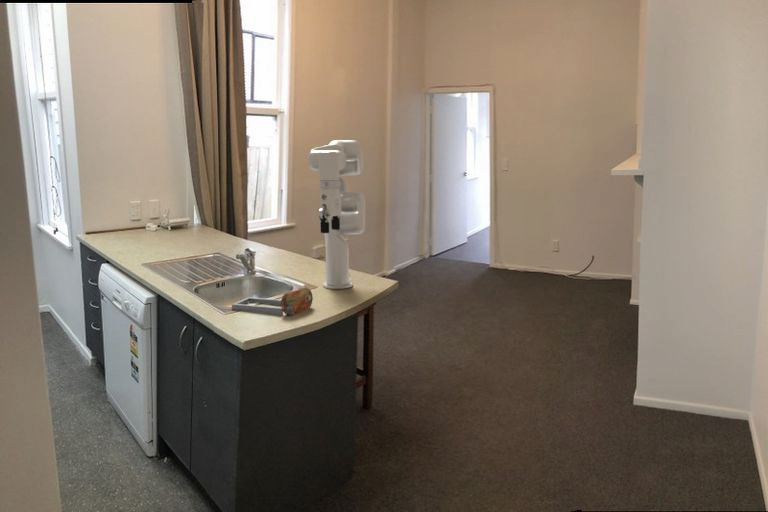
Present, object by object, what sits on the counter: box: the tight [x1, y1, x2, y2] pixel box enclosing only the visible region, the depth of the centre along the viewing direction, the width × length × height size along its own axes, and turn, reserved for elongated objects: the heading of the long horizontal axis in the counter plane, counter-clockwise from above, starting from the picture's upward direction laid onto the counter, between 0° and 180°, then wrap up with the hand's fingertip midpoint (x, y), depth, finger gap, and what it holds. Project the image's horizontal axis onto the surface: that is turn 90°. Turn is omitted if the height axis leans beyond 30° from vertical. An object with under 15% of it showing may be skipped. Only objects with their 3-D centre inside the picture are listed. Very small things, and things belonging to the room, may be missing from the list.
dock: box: [231, 296, 284, 316], centre depth 216 cm, size 11×20×2 cm, turn 72°
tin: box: [280, 287, 314, 316], centre depth 212 cm, size 15×3×8 cm, turn 148°
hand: (330, 231), depth 218 cm, fingers open, 9 cm apart
